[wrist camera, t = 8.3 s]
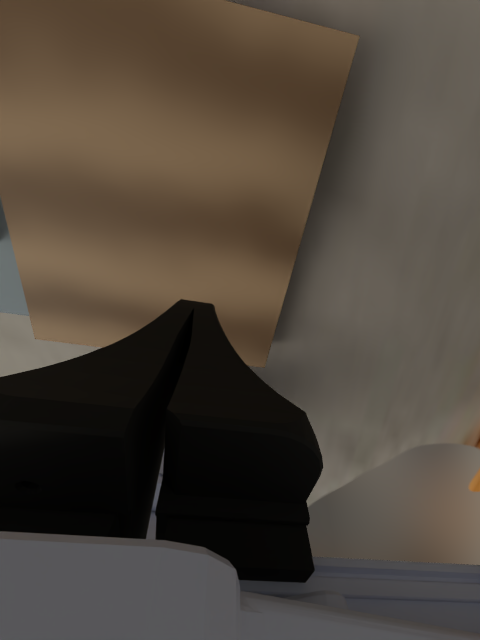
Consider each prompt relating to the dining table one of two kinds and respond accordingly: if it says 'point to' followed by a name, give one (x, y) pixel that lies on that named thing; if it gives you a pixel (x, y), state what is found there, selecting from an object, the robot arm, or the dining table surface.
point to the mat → (9, 274)
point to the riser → (161, 159)
